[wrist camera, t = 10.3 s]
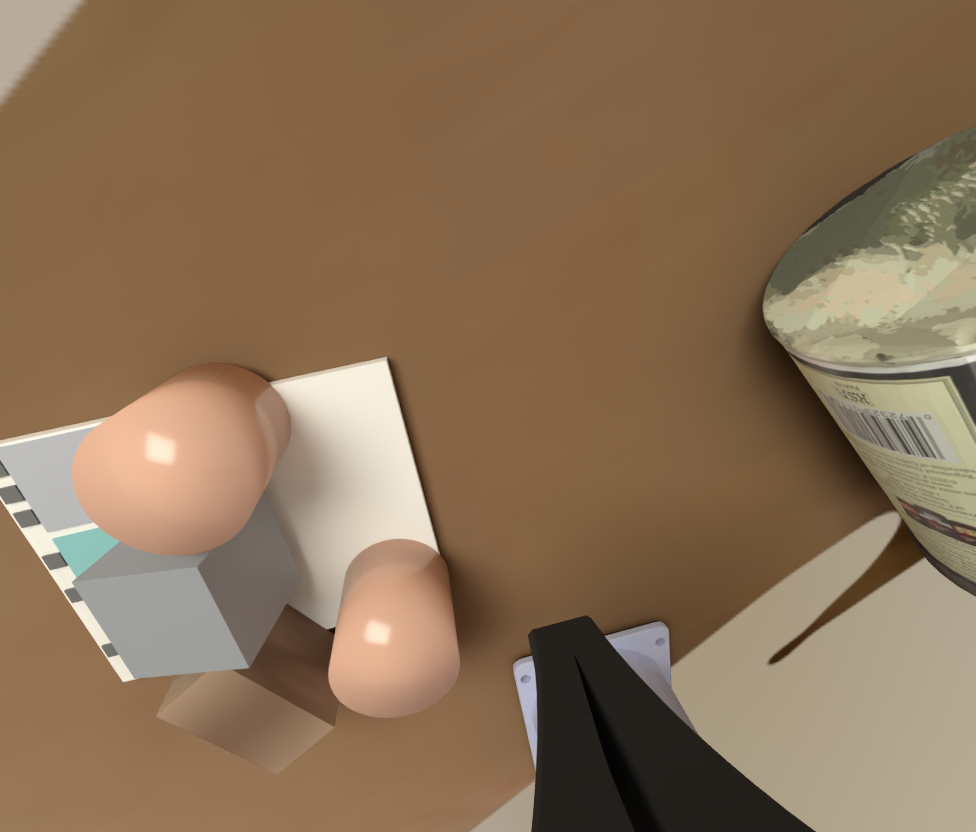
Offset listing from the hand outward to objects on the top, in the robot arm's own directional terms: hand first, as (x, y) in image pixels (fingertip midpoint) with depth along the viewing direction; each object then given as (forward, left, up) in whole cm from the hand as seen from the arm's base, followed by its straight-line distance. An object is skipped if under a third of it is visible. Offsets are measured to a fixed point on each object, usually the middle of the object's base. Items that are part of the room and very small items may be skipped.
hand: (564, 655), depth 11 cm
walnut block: (-6, +11, -9) cm, 15 cm away
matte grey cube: (-1, +10, -9) cm, 14 cm away
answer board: (-1, +10, -10) cm, 14 cm away
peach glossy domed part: (+4, +9, -9) cm, 14 cm away
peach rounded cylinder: (-5, +5, -9) cm, 12 cm away
